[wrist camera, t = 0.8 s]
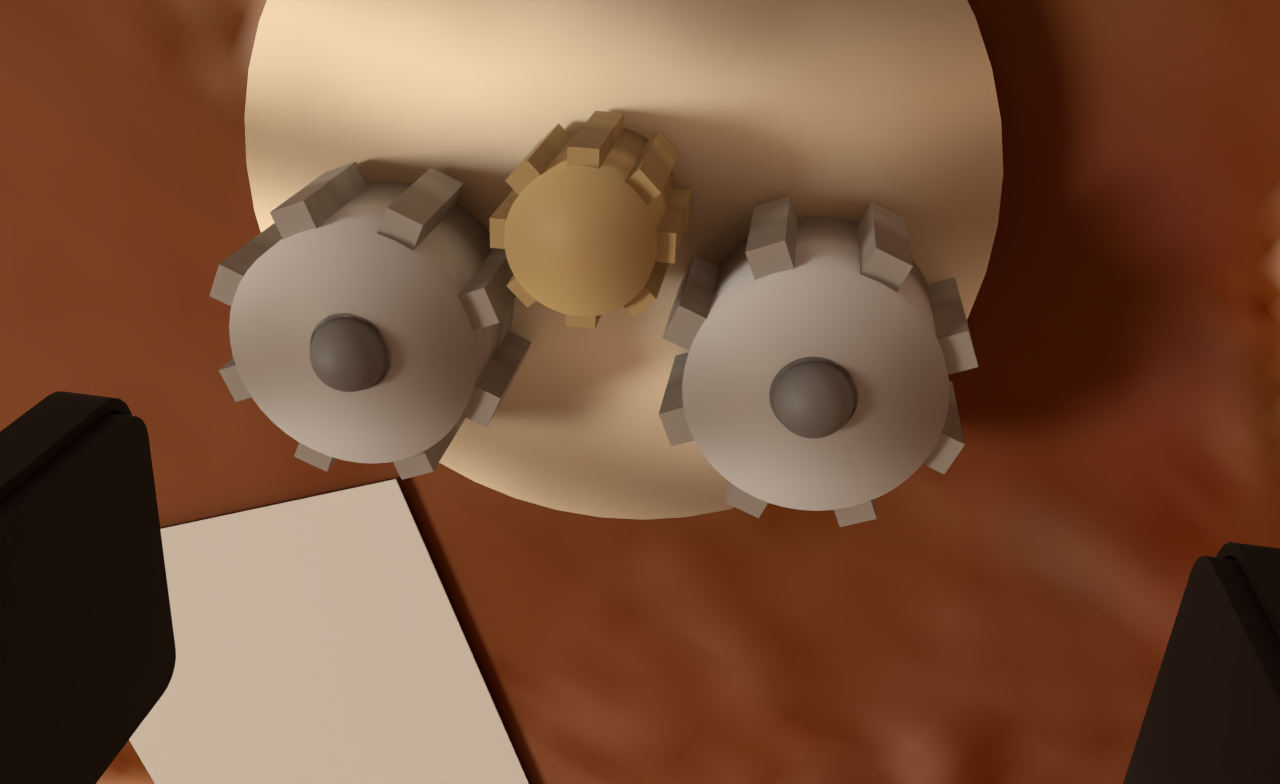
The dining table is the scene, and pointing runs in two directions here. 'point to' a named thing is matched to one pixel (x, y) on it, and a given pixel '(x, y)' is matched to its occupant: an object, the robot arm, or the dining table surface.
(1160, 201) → the dining table surface
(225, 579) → the paper stack
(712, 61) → the carrier
